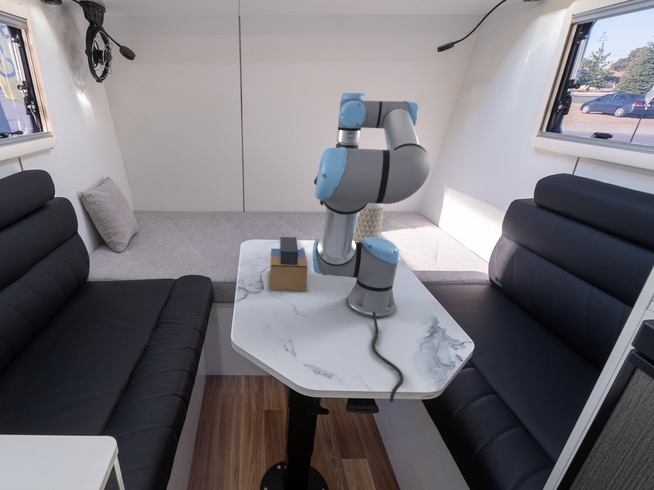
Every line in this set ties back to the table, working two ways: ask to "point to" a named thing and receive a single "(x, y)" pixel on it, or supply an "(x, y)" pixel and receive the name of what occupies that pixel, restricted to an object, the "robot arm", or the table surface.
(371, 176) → the robot arm
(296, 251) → the case
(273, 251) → the flap
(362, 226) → the vase
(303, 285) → the carton
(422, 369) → the table surface
